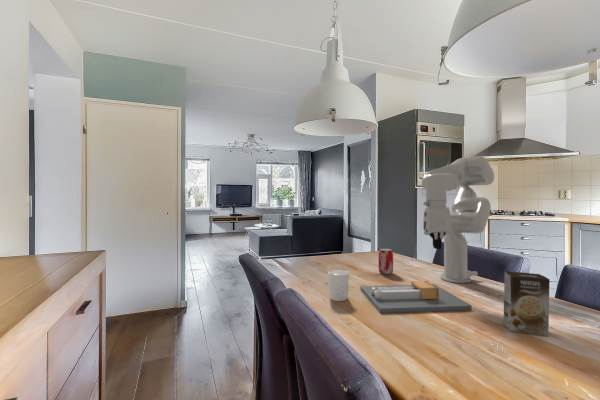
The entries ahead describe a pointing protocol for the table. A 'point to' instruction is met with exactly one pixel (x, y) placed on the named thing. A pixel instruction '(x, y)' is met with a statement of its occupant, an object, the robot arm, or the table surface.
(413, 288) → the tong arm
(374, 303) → the board
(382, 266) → the soda can
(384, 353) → the table surface
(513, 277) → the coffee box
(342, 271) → the white cup
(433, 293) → the tray
